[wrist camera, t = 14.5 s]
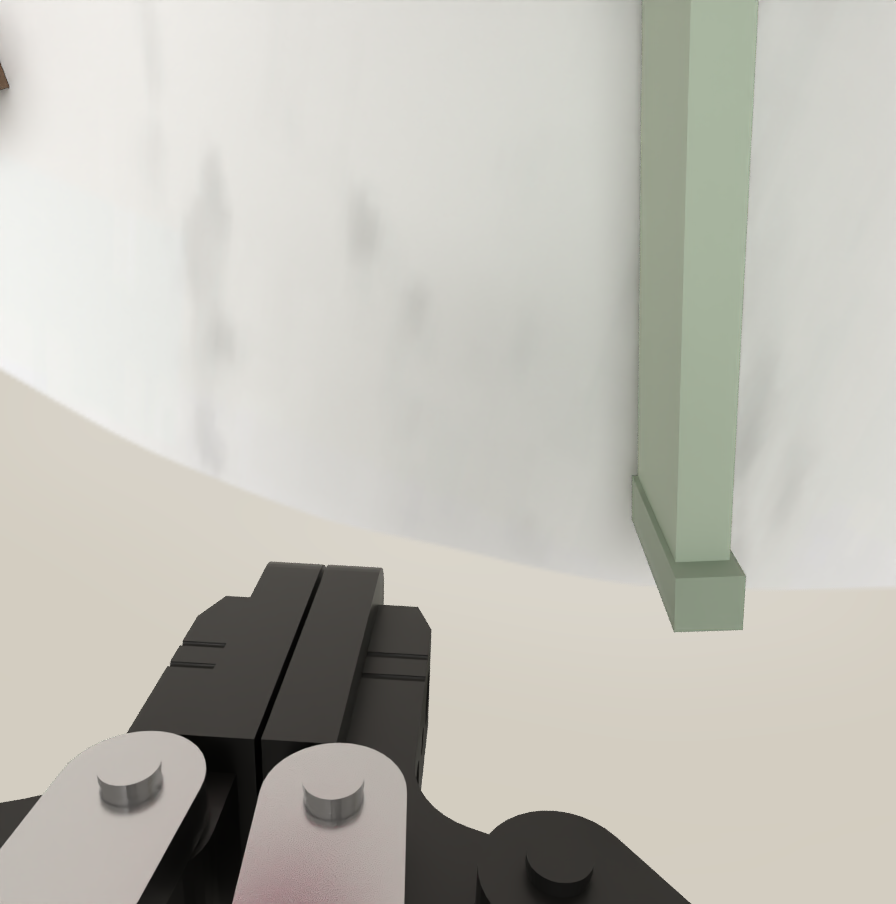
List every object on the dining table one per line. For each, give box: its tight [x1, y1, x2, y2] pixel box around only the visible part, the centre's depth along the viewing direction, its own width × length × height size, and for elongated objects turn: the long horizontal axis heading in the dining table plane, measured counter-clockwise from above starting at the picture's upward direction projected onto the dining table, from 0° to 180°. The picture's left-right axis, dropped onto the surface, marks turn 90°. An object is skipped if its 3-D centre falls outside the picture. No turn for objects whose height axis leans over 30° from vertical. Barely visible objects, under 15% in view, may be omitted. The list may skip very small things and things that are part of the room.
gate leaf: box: [632, 0, 758, 632], centre depth 26 cm, size 21×2×8 cm, turn 4°
